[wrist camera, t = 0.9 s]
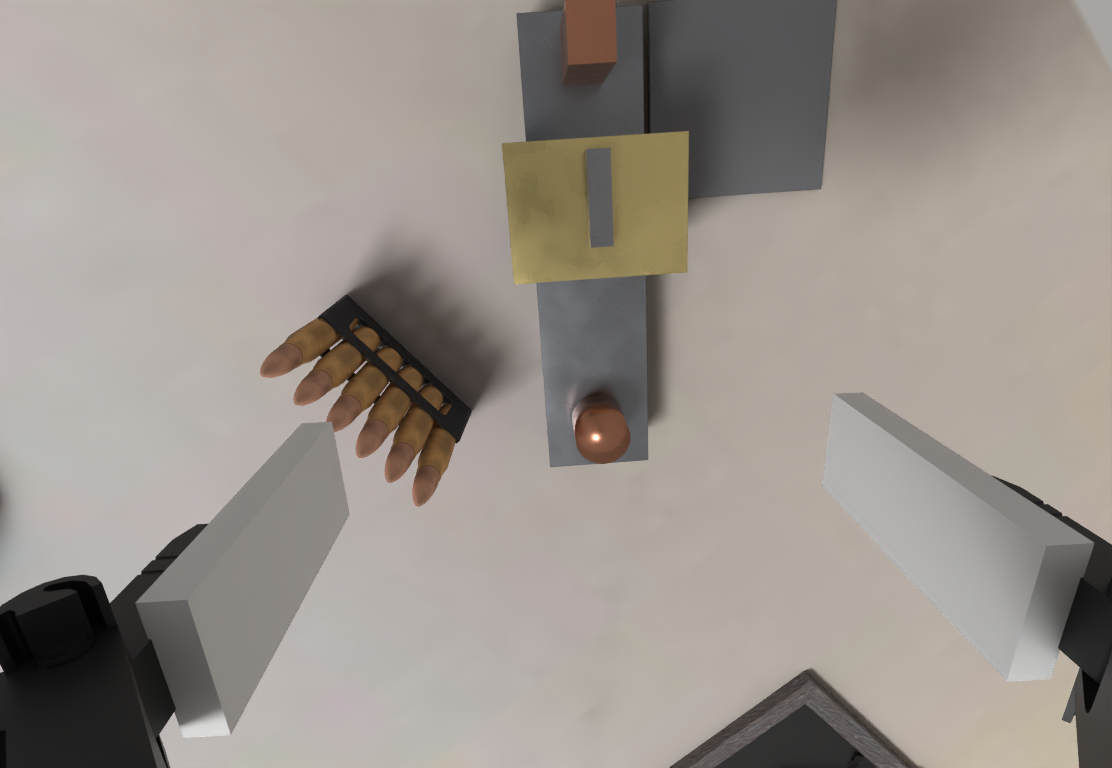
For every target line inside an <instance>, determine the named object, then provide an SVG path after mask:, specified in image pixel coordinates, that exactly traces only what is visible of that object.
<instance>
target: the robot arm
mask: <svg viewBox="0 0 1112 768" xmlns="http://www.w3.org/2000/svg"><path fill="white" fill-rule="evenodd" d="M822 487H823V488H824V489H825V490H826V491H827V492H828V493H829V494H830V495H831V496H832V497H833V498H834V499H835V500H836V501H837V503H838V504H839V505H840V506H841V507H842V508H843V509H844V510H845V511H846V512H847V513H848V514H849V515H850V516H851V517H852V518H853V520H854V521H855V522H856V523H857V524H858V525H859V526H860V527H861V528H862V529H863V530H864V531H865V532H866V533H867V534H868V535H869V536H870V538H871V539H872V540H873V541H874V542H875V543H876V544H877V545H878V546H879V547H880V548H881V549H882V550H883V551H884V552H885V553H886V555H887V556H888V557H889V558H890V559H891V560H892V561H893V562H894V563H895V564H896V565H897V566H898V567H899V568H900V569H901V570H902V571H903V573H904V574H905V575H906V576H907V577H908V578H909V579H910V580H911V581H912V582H913V583H914V584H915V585H916V586H917V587H918V588H919V590H920V591H921V592H922V593H923V594H924V595H925V596H926V597H927V598H928V599H929V600H930V601H931V602H932V603H933V604H934V605H935V606H936V608H937V609H938V610H939V611H940V612H941V613H942V614H943V615H944V616H945V617H946V618H947V619H948V620H949V621H950V622H951V623H952V624H953V626H954V627H955V628H956V629H957V630H958V631H959V632H960V633H961V634H962V635H963V636H964V637H965V638H966V639H967V640H968V641H969V643H970V644H971V645H972V646H973V647H974V648H975V649H976V650H977V651H978V652H979V653H980V654H981V655H982V656H983V657H984V658H985V659H986V661H987V662H988V663H989V664H990V665H991V666H992V667H993V668H994V669H995V670H996V671H997V672H998V673H999V674H1000V675H1001V676H1002V678H1003V679H1004V680H1005V681H1006V682H1012V681H1026V680H1041V679H1050V678H1051V675H1052V672H1053V669H1054V666H1055V663H1056V660H1057V657H1058V654H1059V651H1060V650H1061V651H1062V652H1063V653H1064V654H1065V655H1067V656H1068V657H1069V658H1070V659H1071V660H1072V661H1073V662H1074V663H1076V664H1077V665H1078V666H1079V667H1080V669H1079V672H1078V674H1077V677H1076V680H1075V683H1074V686H1073V689H1072V692H1071V695H1070V698H1069V700H1068V703H1067V706H1066V709H1065V712H1064V715H1063V718H1062V720H1063V721H1066V722H1068V723H1071V721H1072V719H1073V717H1074V715H1076V727H1077V742H1078V756H1079V768H1112V545H1111V544H1110V543H1108V542H1107V541H1105V540H1103V539H1102V538H1100V537H1099V536H1097V535H1096V534H1094V533H1092V532H1091V531H1089V530H1088V529H1086V528H1085V527H1083V526H1081V525H1080V524H1078V523H1077V522H1075V521H1073V520H1072V519H1070V518H1069V517H1067V516H1062V513H1061V512H1059V511H1058V510H1056V509H1054V508H1053V507H1051V506H1050V505H1048V504H1044V503H1043V501H1042V500H1040V499H1039V498H1037V497H1036V496H1034V495H1032V494H1031V493H1029V492H1028V491H1026V490H1024V489H1023V488H1021V487H1019V486H1017V485H1014V484H1012V483H1009V482H1007V481H1004V480H1002V479H999V478H997V477H994V476H991V475H989V474H988V473H986V472H984V471H983V470H981V469H980V468H978V467H977V466H975V465H974V464H972V463H971V462H969V461H967V460H966V459H964V458H963V457H961V456H960V455H958V454H957V453H955V452H954V451H952V450H951V449H949V448H947V447H946V446H944V445H943V444H941V443H940V442H938V441H937V440H935V439H934V438H932V437H930V436H929V435H927V434H926V433H924V432H923V431H921V430H920V429H918V428H917V427H915V426H914V425H912V424H910V423H909V422H907V421H906V420H904V419H903V418H901V417H900V416H898V415H897V414H895V413H893V412H892V411H890V410H889V409H887V408H886V407H884V406H883V405H881V404H880V403H878V402H877V401H875V400H873V399H872V398H870V397H869V396H867V395H866V394H864V393H863V392H861V393H843V394H834V397H833V405H832V412H831V420H830V428H829V435H828V443H827V451H826V458H825V466H824V474H823V481H822ZM348 516H349V509H348V504H347V498H346V493H345V488H344V483H343V478H342V472H341V467H340V462H339V457H338V451H337V446H336V441H335V436H334V430H333V425H332V422H319V423H302V424H301V425H300V426H299V427H298V428H297V429H296V430H295V431H294V432H293V434H292V435H291V436H290V437H289V438H288V439H287V440H286V441H285V442H284V443H283V444H282V445H281V446H280V448H279V449H278V450H277V451H276V452H275V453H274V454H273V455H272V456H271V457H270V458H269V459H268V460H267V462H266V463H265V464H264V465H263V466H262V467H261V468H260V469H259V470H258V471H257V472H256V473H255V474H254V476H253V477H252V478H251V479H250V480H249V481H248V482H247V483H246V484H245V485H244V486H243V487H242V488H241V490H240V491H239V492H238V493H237V494H236V495H235V496H234V497H233V498H232V499H231V500H230V501H229V502H228V504H227V505H226V506H225V507H224V508H223V509H222V510H221V511H220V512H219V513H218V514H217V515H216V516H215V518H214V519H213V520H212V521H211V522H210V523H209V524H197V525H196V526H194V527H192V528H191V529H189V530H188V531H186V532H184V533H183V534H181V535H180V536H178V537H176V538H175V539H173V540H172V541H171V542H170V543H169V544H168V545H167V546H166V547H165V548H164V549H163V550H162V551H161V552H160V553H159V554H158V555H157V556H156V559H155V560H152V561H151V562H150V563H149V564H148V565H147V566H146V567H145V568H144V569H143V570H142V571H141V572H142V573H141V575H137V576H136V577H135V578H134V579H133V580H132V581H131V582H130V583H129V584H128V586H127V587H126V588H125V589H124V590H123V591H122V592H121V593H120V594H119V595H118V596H117V597H116V598H115V599H114V600H113V601H112V602H111V603H109V601H108V598H107V595H106V593H105V590H104V587H103V585H102V583H101V582H100V581H99V580H98V579H97V578H96V577H94V576H87V575H77V576H69V577H63V578H60V579H56V580H53V581H50V582H46V583H43V584H41V585H38V586H36V587H34V588H32V589H29V590H27V591H25V592H23V593H21V594H19V595H17V596H16V597H14V598H13V599H11V600H9V601H8V602H6V603H5V604H3V605H2V606H1V607H0V665H1V667H2V669H3V671H4V672H1V673H0V768H170V765H169V762H168V758H167V755H166V752H165V748H164V746H163V743H162V741H161V738H160V735H159V734H160V732H161V731H162V729H163V728H164V726H165V725H166V723H167V722H168V720H169V719H170V717H171V716H172V714H173V713H174V712H175V715H176V718H177V721H178V723H179V726H180V729H181V732H182V734H183V737H184V738H192V737H207V736H221V735H231V733H232V732H233V730H234V728H235V726H236V724H237V722H238V720H239V718H240V717H241V715H242V713H243V711H244V709H245V707H246V705H247V704H248V702H249V700H250V698H251V696H252V694H253V692H254V691H255V689H256V687H257V685H258V683H259V681H260V679H261V678H262V676H263V674H264V672H265V670H266V668H267V666H268V665H269V663H270V661H271V659H272V657H273V655H274V653H275V652H276V650H277V648H278V646H279V644H280V642H281V640H282V639H283V637H284V635H285V633H286V631H287V629H288V627H289V626H290V624H291V622H292V620H293V618H294V616H295V614H296V613H297V611H298V609H299V607H300V605H301V603H302V601H303V600H304V598H305V596H306V594H307V592H308V590H309V588H310V586H311V585H312V583H313V581H314V579H315V577H316V575H317V573H318V572H319V570H320V568H321V566H322V564H323V562H324V560H325V559H326V557H327V555H328V553H329V551H330V549H331V547H332V546H333V544H334V542H335V540H336V538H337V536H338V534H339V533H340V531H341V529H342V527H343V525H344V523H345V521H346V520H347V518H348Z"/></svg>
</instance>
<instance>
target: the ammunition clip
mask: <svg viewBox="0 0 1112 768" xmlns="http://www.w3.org/2000/svg"><path fill="white" fill-rule="evenodd" d="M341 339H343V341H341V342H340V343H339V344H338V345H337V346H335V347H334V348H333V349H332V350H330V349H329V348H330V347H331V346H333V345H334V344H335V343H337V342H338V341H339V340H341ZM318 356H321V357H322V358H321V359H319V360H318V361H317V363H316V365H315V366H314V368H313V370H312V371H311V372H310V373H309V374H308V375H307V376H306V377H305V378H304V379H303V380H302V382H301V383H300V384H299V386H298V387H297V389H296V391H295V394H294V399H293V400H294V403H295V404H296V405H300V406H302V405H307V404H310V403H313V402H315V401H316V400H318V399H319V398H321V397H322V396H324V395H325V394H326V393H327V392H329V391H330V390H332V389H333V388H335V387H337V386H339V385H341V384H342V383H344V382H345V381H346V380H348V381H349V382H348V383H347V384H346V386H345V387H344V389H343V390H342V393H341V396H340V397H339V398H338V400H337V401H336V403H335V404H334V405H333V407H332V408H331V410H330V412H329V414H328V416H327V420H326V422H332V425H333V430H334V432H337V431H339V430H342V429H343V428H345V427H346V426H348V425H349V424H350V423H352V422H353V421H354V420H355V418H356V417H357V416H359V415H360V414H361V413H362V411H364V410H366V409H367V408H369V407H370V406H371V405H372V404H373V403H374V404H375V405H374V406H373V407H372V409H371V410H370V412H369V414H368V419H367V421H366V423H365V425H364V427H363V429H362V430H361V432H360V434H359V436H358V439H357V443H356V454H357V456H358V457H359V458H364V457H367V456H369V455H370V454H372V453H373V452H375V451H376V450H377V449H378V448H379V447H380V446H381V444H382V443H383V442H384V440H385V439H386V438H387V437H388V435H389V434H390V433H391V432H392V431H394V430H395V429H396V428H397V426H398V425H399V427H398V429H397V431H396V433H395V435H394V439H393V445H392V447H391V450H390V453H389V455H388V457H387V461H386V464H385V479H386V481H387V482H389V483H391V482H394V481H396V480H398V479H399V478H400V477H401V476H402V475H403V474H404V473H405V472H406V471H407V469H408V468H409V466H410V465H411V463H412V461H413V460H414V458H415V456H416V455H417V454H418V453H419V452H420V450H421V449H422V450H421V453H420V456H419V459H418V469H417V472H416V476H415V479H414V483H413V489H412V495H413V502H414V504H415V505H416V506H417V507H419V506H422V505H423V504H425V503H426V502H427V501H428V500H429V499H430V497H431V496H432V495H433V493H434V491H435V490H436V488H437V485H438V482H439V481H440V479H441V476H442V474H443V473H444V472H445V470H446V469H447V467H448V464H449V461H450V458H451V455H452V452H453V449H454V446H455V443H458V442H459V441H460V439H461V436H462V434H463V431H464V429H465V427H466V424H467V422H468V419H469V417H470V414H471V410H470V408H468V407H467V406H466V405H465V404H464V403H463V402H462V401H461V400H460V399H459V398H458V397H457V396H456V395H454V394H453V393H452V392H451V391H450V390H449V389H448V388H447V387H446V386H445V385H444V384H443V383H442V382H440V381H439V380H438V379H437V378H436V377H435V376H434V375H433V374H432V373H431V372H430V371H429V370H428V369H426V368H425V367H424V366H423V365H422V364H421V363H420V362H419V361H418V360H417V359H416V358H415V357H414V356H413V355H411V354H410V353H409V352H408V351H407V350H406V349H405V348H404V347H403V346H402V345H401V344H400V343H399V342H397V341H396V340H395V339H394V338H393V337H392V336H391V335H390V334H389V333H388V332H387V331H386V330H385V329H383V328H382V327H381V326H380V325H379V324H378V323H377V322H376V321H375V320H374V319H373V318H372V317H371V316H369V315H368V314H367V313H366V312H365V311H364V310H363V309H362V308H361V307H360V306H359V305H358V304H357V303H356V302H354V301H353V300H352V299H351V298H350V297H349V296H348V295H345V296H344V297H342V298H341V299H340V300H339V301H337V302H336V303H335V304H334V305H332V306H331V307H330V308H328V309H327V310H326V311H325V312H323V313H322V314H321V315H320V316H319V317H318V318H316V319H315V320H313V321H312V322H310V323H308V324H307V325H305V326H304V327H302V328H300V329H299V330H297V331H295V332H294V333H292V334H291V335H290V336H289V337H288V338H287V340H286V341H285V342H284V343H283V344H282V345H280V346H279V347H278V348H277V349H276V350H274V351H273V352H272V353H271V354H270V355H269V356H268V357H267V358H266V359H265V361H264V362H263V364H262V366H261V369H260V374H261V376H262V377H266V378H272V377H277V376H281V375H284V374H286V373H288V372H290V371H292V370H293V369H294V368H297V367H299V366H300V365H302V364H304V363H308V362H311V361H312V360H314V359H315V358H317V357H318ZM365 361H367V363H366V364H365V365H364V366H363V367H362V368H361V369H360V370H359V371H358V372H357V373H356V374H355V373H354V372H355V371H356V370H357V369H358V368H359V367H360V366H361V365H362V364H363V363H364V362H365ZM389 381H390V384H389V385H388V386H387V388H386V389H385V391H384V392H383V393H382V395H381V396H379V394H380V393H381V392H382V391H383V389H384V388H385V387H386V385H387V384H388V383H389ZM409 406H410V407H409ZM408 408H409V409H408ZM407 410H408V411H407ZM406 411H407V413H406ZM405 413H406V414H405ZM404 415H405V416H404Z"/></svg>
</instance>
